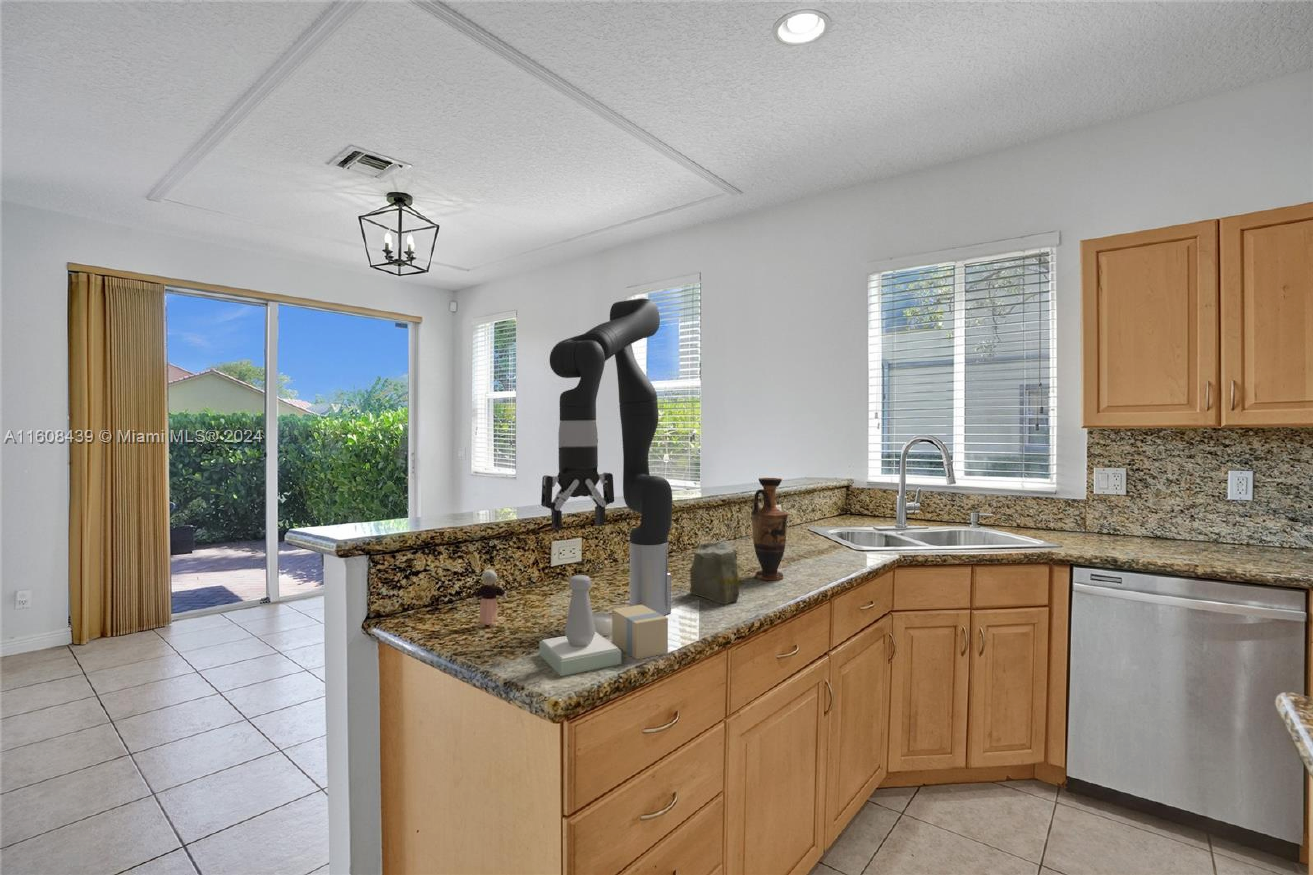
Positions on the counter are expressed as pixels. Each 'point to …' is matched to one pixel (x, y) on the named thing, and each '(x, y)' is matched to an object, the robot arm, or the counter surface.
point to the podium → (579, 655)
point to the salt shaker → (580, 613)
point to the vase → (769, 531)
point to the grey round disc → (603, 623)
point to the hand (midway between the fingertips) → (578, 527)
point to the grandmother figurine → (488, 599)
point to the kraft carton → (640, 631)
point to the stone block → (715, 572)
